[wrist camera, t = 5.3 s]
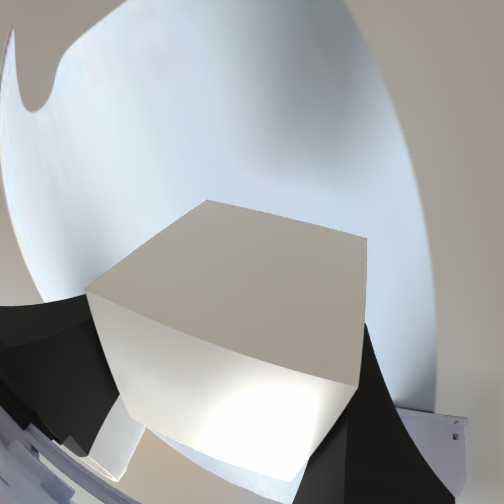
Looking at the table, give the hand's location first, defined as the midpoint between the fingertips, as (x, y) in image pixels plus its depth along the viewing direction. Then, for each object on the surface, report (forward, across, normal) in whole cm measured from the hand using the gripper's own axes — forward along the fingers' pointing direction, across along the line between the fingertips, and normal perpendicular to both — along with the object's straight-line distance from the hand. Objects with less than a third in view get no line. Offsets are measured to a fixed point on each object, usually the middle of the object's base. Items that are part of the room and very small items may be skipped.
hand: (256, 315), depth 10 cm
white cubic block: (+2, 0, 0) cm, 2 cm away
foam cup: (+9, +16, +27) cm, 33 cm away
